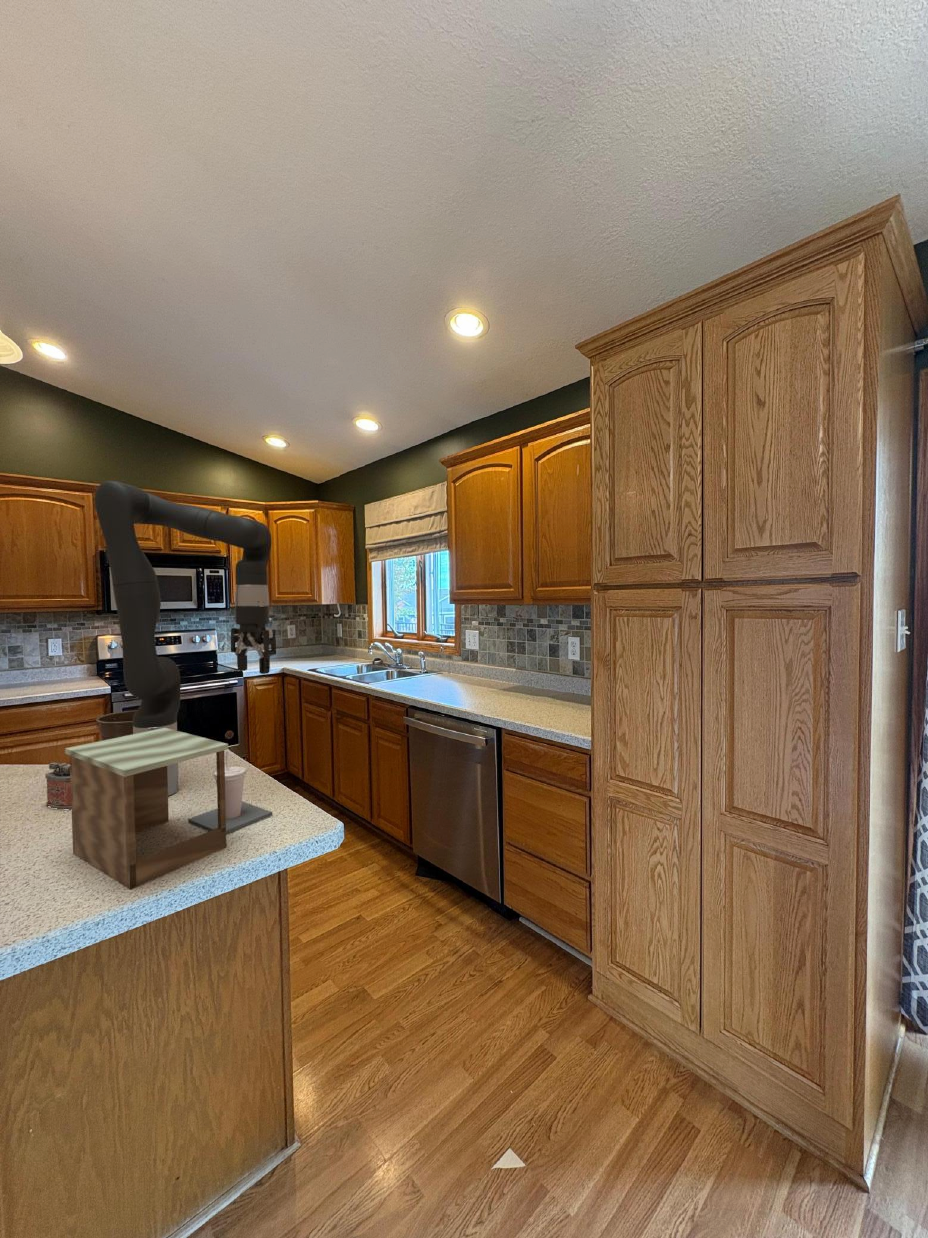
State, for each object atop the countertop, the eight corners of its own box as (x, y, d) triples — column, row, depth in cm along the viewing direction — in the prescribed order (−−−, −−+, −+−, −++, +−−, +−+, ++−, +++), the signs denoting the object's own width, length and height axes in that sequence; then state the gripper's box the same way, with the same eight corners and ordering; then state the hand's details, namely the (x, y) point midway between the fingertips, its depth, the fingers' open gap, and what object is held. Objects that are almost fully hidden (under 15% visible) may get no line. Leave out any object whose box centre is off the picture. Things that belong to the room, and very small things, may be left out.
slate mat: (188, 822, 110) (188, 819, 110) (239, 803, 120) (239, 800, 120) (221, 836, 103) (220, 833, 103) (272, 815, 113) (272, 812, 113)
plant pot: (145, 761, 152) (144, 706, 151) (181, 769, 145) (180, 711, 144) (84, 778, 137) (82, 718, 136) (121, 788, 130) (119, 724, 129)
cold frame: (68, 854, 97) (65, 748, 96) (167, 819, 112) (165, 727, 111) (128, 892, 84) (124, 770, 83) (230, 847, 99) (228, 744, 98)
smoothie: (221, 809, 115) (220, 747, 114) (251, 808, 115) (250, 746, 115) (209, 822, 108) (208, 756, 108) (241, 821, 109) (240, 755, 108)
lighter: (82, 806, 119) (80, 763, 119) (66, 811, 116) (65, 767, 115) (58, 801, 122) (56, 759, 121) (42, 807, 118) (40, 764, 118)
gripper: (219, 604, 124) (221, 671, 124) (256, 604, 116) (258, 676, 116) (247, 603, 130) (249, 668, 130) (284, 604, 122) (285, 672, 123)
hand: (253, 672), depth 123 cm, fingers open, 8 cm apart
